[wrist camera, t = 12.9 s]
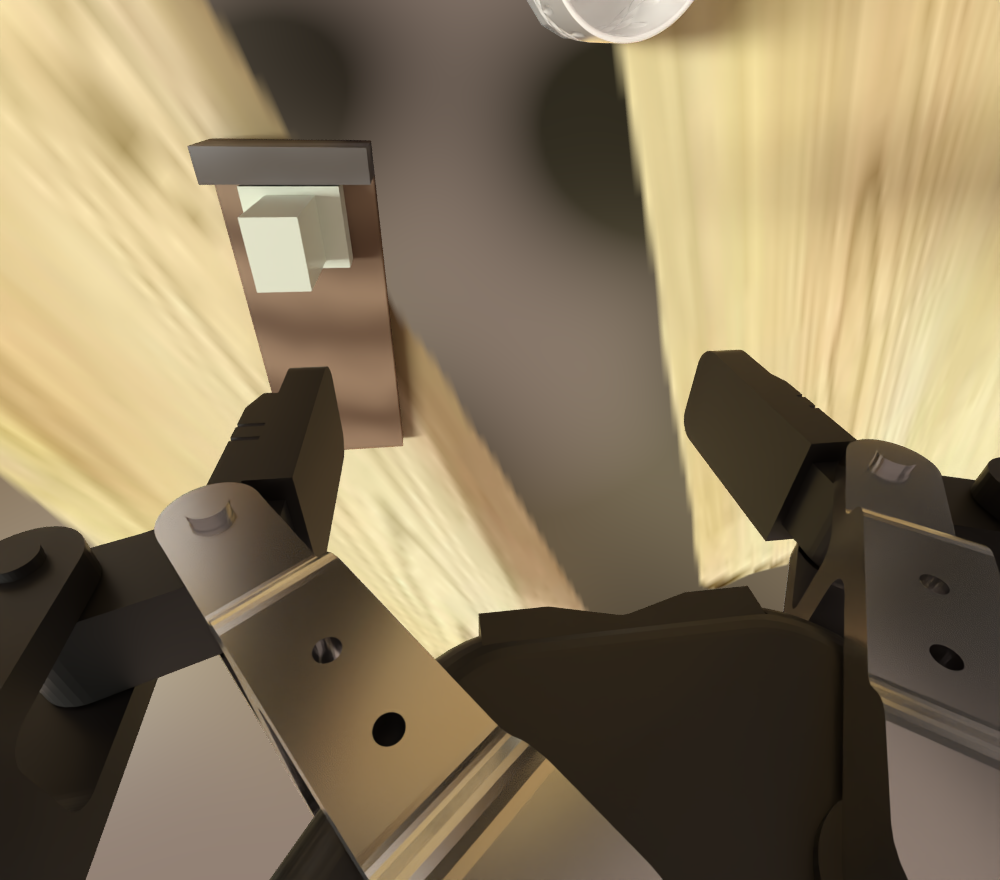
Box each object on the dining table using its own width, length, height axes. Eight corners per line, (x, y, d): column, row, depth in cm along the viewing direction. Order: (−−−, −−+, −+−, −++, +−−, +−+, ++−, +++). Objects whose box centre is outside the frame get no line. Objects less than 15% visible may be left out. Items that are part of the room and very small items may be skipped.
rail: (209, 138, 32) (187, 146, 29) (370, 140, 34) (366, 147, 30) (291, 443, 46) (282, 471, 43) (403, 437, 48) (402, 463, 44)
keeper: (245, 180, 33) (203, 207, 26) (341, 180, 33) (324, 206, 27) (264, 260, 35) (231, 301, 29) (353, 258, 36) (340, 299, 30)
